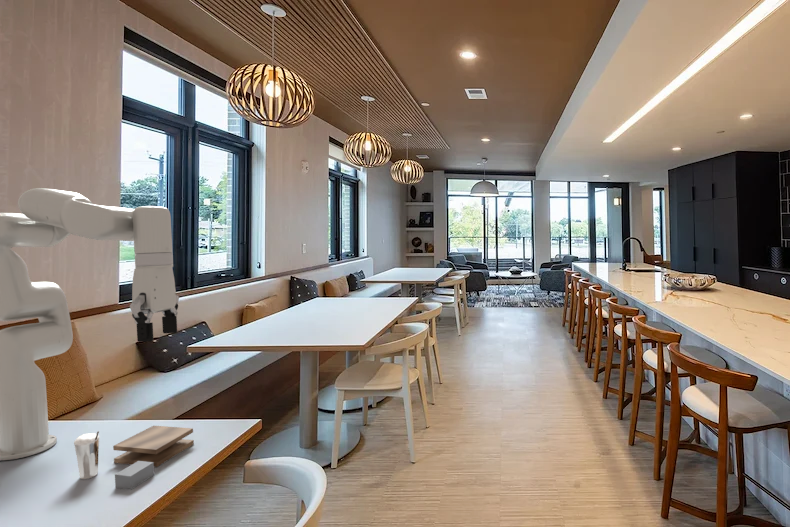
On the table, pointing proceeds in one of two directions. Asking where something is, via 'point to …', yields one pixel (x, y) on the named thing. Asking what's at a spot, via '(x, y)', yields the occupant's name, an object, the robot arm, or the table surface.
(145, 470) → the block
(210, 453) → the table surface
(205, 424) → the table surface
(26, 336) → the robot arm
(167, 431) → the stand
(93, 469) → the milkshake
